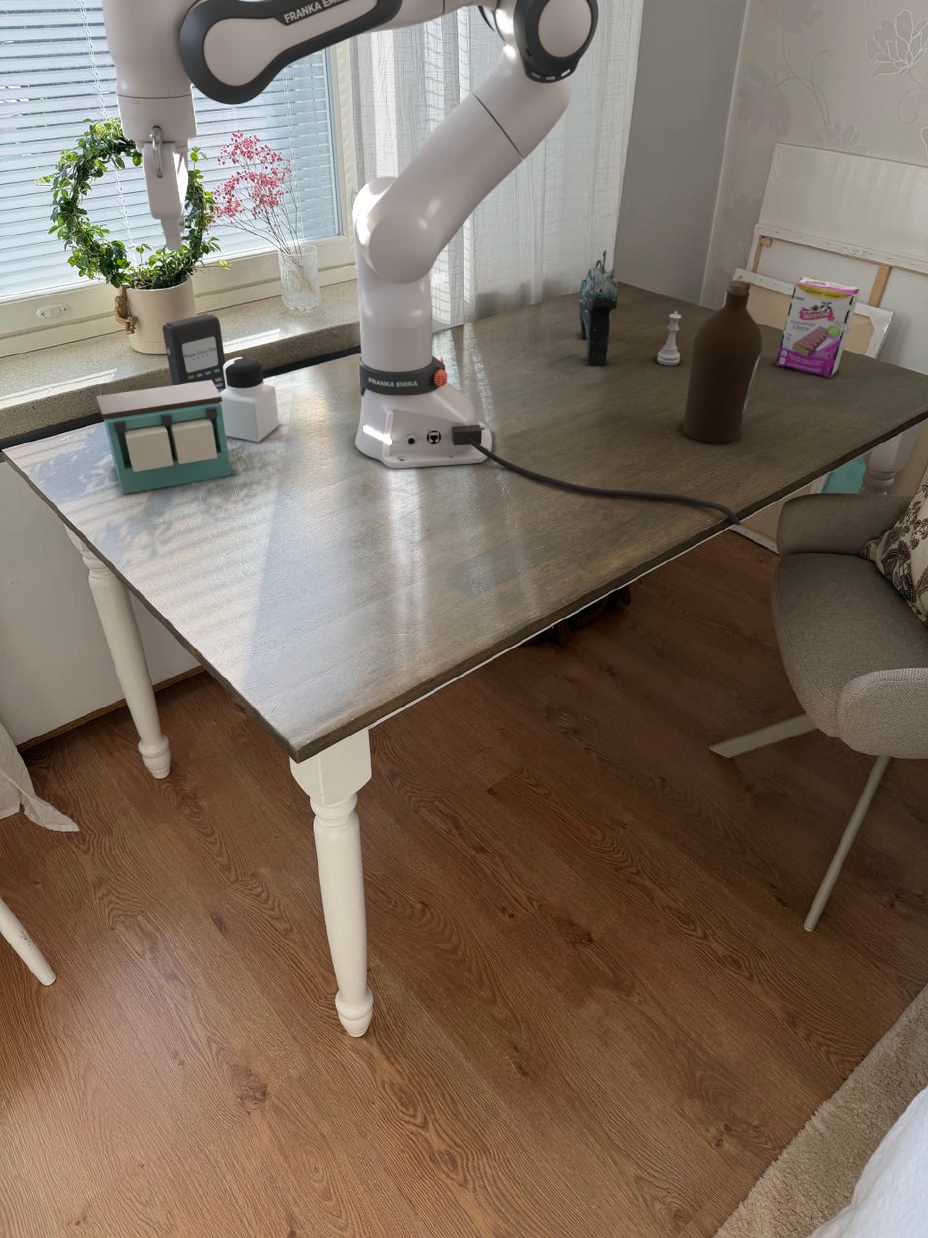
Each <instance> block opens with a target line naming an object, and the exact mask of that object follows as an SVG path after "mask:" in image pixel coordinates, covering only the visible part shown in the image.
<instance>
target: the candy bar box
mask: <svg viewBox="0 0 928 1238" xmlns="http://www.w3.org/2000/svg"><path fill="white" fill-rule="evenodd" d="M792 291H793V292H792V295H791V300H790V304H789V308H788V312H787V316H786V321H785V323H784V328H783V332H782V337H781V340H780V345H779V348H778V353H777V357H776V361H775V366H777V367H782V368H786V369H791V370H796V371H799V372H804V373H808V374H811V375H817V376H821V377H824V378H832V377H833V376H834V374H835V373H836V372H837V371H838V369H839V365H840V362H841V358H842V355H843V351H844V348H845V344H846V341H847V338H848V337H847V336H848V333H849V331H850V327H851V323H852V320H853V316H854V312H855V309H856V305H857V304H858V303H857V302H858V299H859V295H860V292H861V288H860V287H859V286H853V285H848V284H843V283H837V282H832V281H826V280H822V279H817V278H811V277H806V276H802V277H801V278H800V279H798V280H797V281H796V282H795V283H794V287H793V290H792Z"/></svg>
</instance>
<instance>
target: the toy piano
mask: <svg viewBox="0 0 928 1238" xmlns="http://www.w3.org/2000/svg"><path fill="white" fill-rule="evenodd" d="M95 398H96V403H97V406H98V408H99V412H100V414H101V418H102V420H103V423H104V426H105V429H106V435H107V439H108V444H109V448H110V452H111V456H112V461H113V465H114V466H113V467H114V469H115V472H116V475H117V478H118V482H119V485H120V488H121V492H122V494H123V495H129V494H134V493H139V492H140V493H141V492H145V491H152V490H155V489H156V490H158V489H162V488H163V489H164V488H167V487H173V486H174V487H175V486H179V485H186V484H190V483H196V482H202V481H207V480H213V479H218V478H224V477H229V476H232V470H231V463H230V455H229V449H228V442H227V436H226V434H225V428H224V421H223V413H222V407H221V404H220V402H222V397H221V395H220V393H219V392H218V390H217V388H216V387H215V385H214V383H213V381H212V380H208V381H201V382H194V383H187V384H179V385H173V384H172V385H167V386H158V387H151V388H144V389H138V390H130V391H124V392H118V393H117V392H116V393H109V394H103V395H96V396H95ZM204 417H207V418H208V419H210V421H211V423H212V426H213V432H214V439H215V445H216V452H217V458H213V459H208V460H202V461H196V462H190V463H184V464H179V463H178V460H177V458H176V456H175V453H174V447H173V442H172V436H171V431H170V426H169V425H173V422H178V421H185V420H191V419H198V418H204ZM159 424H163V426H165V428H166V430H167V433H168V438H169V444H170V449H171V454H172V460H173V466H167V467H161V468H155V469H149V470H143V471H137V472H134V471H133V468H132V465H131V462H130V458H129V453H128V449H127V444H126V439H125V435H124V432H127V429H133V428H140V427H146V426H153V425H159Z"/></svg>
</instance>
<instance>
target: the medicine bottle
mask: <svg viewBox="0 0 928 1238" xmlns="http://www.w3.org/2000/svg"><path fill="white" fill-rule="evenodd" d="M262 366H263V365H262V363H261V362H260V361H259V360H258V359H256V358H253V357H248V356H238V357H234V358H231V359H229V360H227V361H225V364H224V365H223V371H224V378H225V385H226V389H224V390H223V391H222V392H220V395H221V397H222V402H220V404H221V407H222V413H223V421H224V428H225V434H226V438H227V437H228V438H234V439H239V440H244V441H249V442H255V443H260V442H261V441H262V440H263V439H264V438H265V437H267V436H268V435H269V434H270V433H272V432H273V431H274V430H276V428H278V427H279V425H280V421H279V414H278V413H279V412H278V403H277V394H276V387H275V386H274V385H270V384H264V382H265V381H264V375H263V374H264V373H263V367H262Z"/></svg>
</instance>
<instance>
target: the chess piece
mask: <svg viewBox="0 0 928 1238" xmlns="http://www.w3.org/2000/svg"><path fill="white" fill-rule="evenodd" d="M668 318H669V320H670V323H669V325H668V326H667V327H666V330H667V331H668V332H669V333H668V336H667V340H666V343H665V344H664V345H663V346H662V348H661V349H660V350H659V351H658V353H657V359H656V361H657V362H658V364H661V365H664V366H677V365H678V364H679V363H680V357H681V354H680V352H679V351H678V346H676V334H677V332H679V331H680V326H679V324H678V323H679V321H680V320H682V315H681V314H678V311H677V310H675V311H674V312H673V313H670V314H669V315H668Z"/></svg>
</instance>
